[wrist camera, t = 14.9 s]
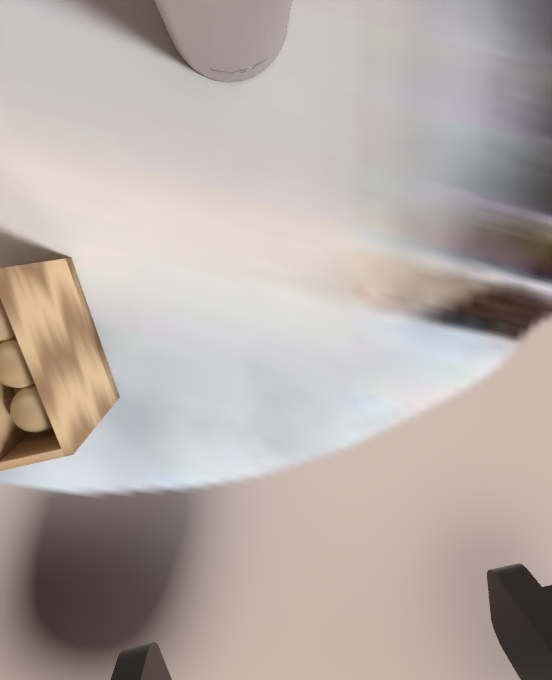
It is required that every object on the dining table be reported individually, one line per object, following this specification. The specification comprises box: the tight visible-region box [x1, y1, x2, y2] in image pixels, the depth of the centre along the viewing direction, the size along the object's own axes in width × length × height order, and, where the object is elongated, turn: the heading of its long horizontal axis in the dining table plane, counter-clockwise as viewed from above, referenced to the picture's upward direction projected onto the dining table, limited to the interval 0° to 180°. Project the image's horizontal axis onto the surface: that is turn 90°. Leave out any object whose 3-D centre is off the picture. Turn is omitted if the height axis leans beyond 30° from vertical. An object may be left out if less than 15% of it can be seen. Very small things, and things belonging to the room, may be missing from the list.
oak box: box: [0, 258, 119, 471], centre depth 31 cm, size 13×6×10 cm, turn 12°
